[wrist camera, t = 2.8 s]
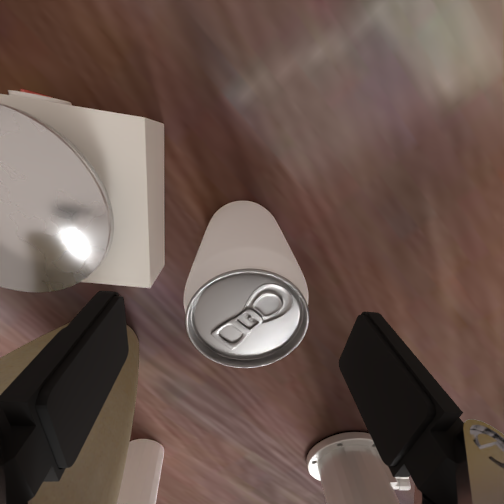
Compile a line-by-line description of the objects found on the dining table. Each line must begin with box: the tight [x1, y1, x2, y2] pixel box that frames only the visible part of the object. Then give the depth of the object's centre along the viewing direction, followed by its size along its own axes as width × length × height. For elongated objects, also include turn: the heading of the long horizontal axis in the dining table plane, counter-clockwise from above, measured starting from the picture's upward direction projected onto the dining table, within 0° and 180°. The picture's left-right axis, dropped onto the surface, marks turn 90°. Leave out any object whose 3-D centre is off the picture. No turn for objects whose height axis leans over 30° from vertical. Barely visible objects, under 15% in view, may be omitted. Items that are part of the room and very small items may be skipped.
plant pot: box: [0, 323, 139, 504], centre depth 18 cm, size 15×15×16 cm
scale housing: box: [0, 89, 165, 288], centre depth 17 cm, size 14×12×4 cm
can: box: [184, 201, 309, 368], centre depth 16 cm, size 6×6×12 cm
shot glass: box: [117, 439, 164, 504], centre depth 31 cm, size 7×7×7 cm
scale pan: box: [0, 104, 114, 292], centre depth 14 cm, size 11×11×2 cm
